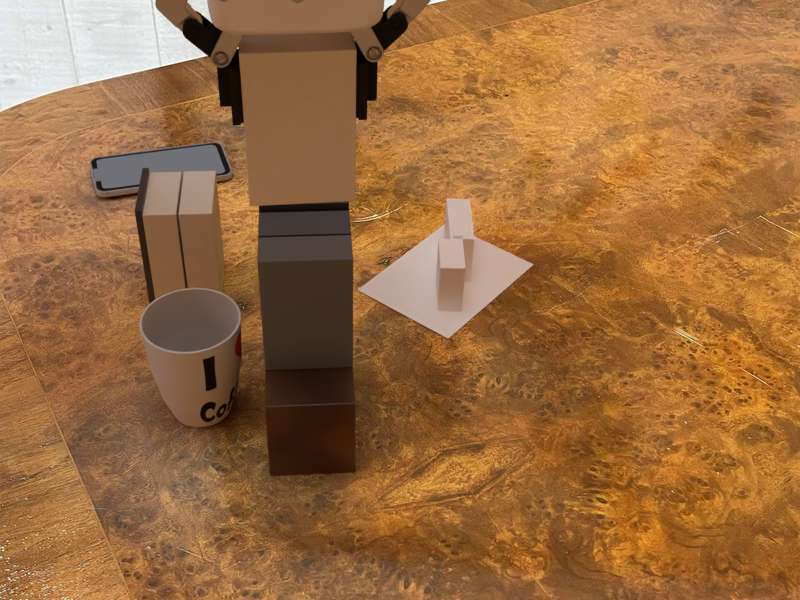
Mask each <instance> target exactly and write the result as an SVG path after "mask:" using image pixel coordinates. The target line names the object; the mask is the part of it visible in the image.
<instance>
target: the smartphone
mask: <svg viewBox="0 0 800 600" xmlns="http://www.w3.org/2000/svg"><path fill="white" fill-rule="evenodd" d="M89 168H90V172H91V178H92V183H93V186H94V191H95V194H96V195H97V196H98V197H100V198H109V197H117V196H122V195H130V194H138V189H139V184H140V179H141V173H142V168H149V173H150V172H182V179H183V175H184V172H186V171H216V178H217V183H218V182H225V181H228V180H231V178H233V168H232V166H231V163H230V161H229V158H228V156H227V153H226V151H225V148H224V146H223V144H222V143H221V142H217V141H209V142H202V143H201V142H200V143H193V144H187V145H178V146H171V147H162V148H155V149H148V150H139V151H133V152H123V153H115V154H110V155H101V156H95V157H93V158H91V159H90V161H89Z"/></svg>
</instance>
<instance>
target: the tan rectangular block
mask: <svg viewBox="0 0 800 600" xmlns="http://www.w3.org/2000/svg"><path fill="white" fill-rule="evenodd" d="M237 49H239V65H240V74H241V89H242V103H243V117H244V123H243V133H244V135H243V136H244V147H245V162H246V177H247V178H246V179H247V191H248V205H249V207H259V206H264V205H284V204H303V203H323V202H343V201H349V202H355V201H356V189H357V188H356V185H357V183H356V182H357V180H356V179H357V178H356V176H357V175H356V173H357V172H356V170H357V118H356V56H357V50H356V46H355V39H354V37H353V36H352V34H351V32H334V33H306V34H274V35H244V36H243V38H242V40H241V42H240V44H239V46H238V48H237Z"/></svg>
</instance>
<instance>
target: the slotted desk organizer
mask: <svg viewBox="0 0 800 600" xmlns="http://www.w3.org/2000/svg"><path fill="white" fill-rule="evenodd" d="M135 200H136V201H135V206H134V216H135V223H136V229H137V235H138V241H139V248H140V254H141V260H142V266H143V272H144V278H145V279H144V280H145V285H146V291H147V292H146V293H147V297H148V305H149V304H150V303H151V302H153V301H154V300H155V299H157V298H159V297H160V296H162V295H164V294H167V293H169V292H172V291H176V290H180V289H186V288H207V289H212V290H216V291H219V292H221V293H224V278H225V277H224V276H225V265H226V264H225V263H226V262H225V252H224V251H225V250H224V241H223V229H222V222H221V221H222V219H221V210H220V209H221V208H220V201H219V200H220V199H219V190H218V182H217V178H216V171H186V172H184V175H183V179H182V172H150V173H149V168H142V173H141V179H140V184H139V189H138V193H137V195H136V199H135Z"/></svg>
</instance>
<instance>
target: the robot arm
mask: <svg viewBox="0 0 800 600" xmlns="http://www.w3.org/2000/svg"><path fill="white" fill-rule="evenodd" d="M188 1H189V0H155V2H154V3H155V4H154V5H155V8H156V10H157V11H158V12H159V13H160V14H162V16H163V17H164V18H166V20H168V21H169V22H170V23H171V24H172V25H173V26H174V27H175V28H177V29H178V30H179V31H180V32H181V33H182V35H183V37H184V38H185V39H186V40H187V41H188V42H190V43H191V44H192V45H193V46H194V47H196V48H197V49H199V51H201V52H202V53H203V54H205V55H206V56H207V57H208V58H209V59H210V61H211V64H212V65H213V66H214V67H216V74H217V87H218V96H219V107H220V108H226V107H229V108H231V109H230V110H231V121H232V126H242V124H244V117H243V103H242V89H241V74H240V65H239V48H238V46H239V44H240V42H241V40H242V38H243V36H244V35H274V34H306V33H334V32H351V34H352V36H353V37H354V41H355V46H356V50H357V56H356V119H358V121H367V120H368V102H375V101H378V72H379V71H378V68H379V67H378V64H379V63H378V62H380V61H382V59H383V58H384V55H385V52H386V51H387V49H388V48H389V47H390V46H391V45H393V44H394V43H395V42H396V41H397V40H398V39H399V38H401V36H402V35H403V34H405V32H406V31H407V30H408V28H409V24H410V23H411V22H413V21H414V20H416V18H417V17H418V16H419V15H420V14H421V12H422V11H423V10H425V8H426V7H427V6H428V5H429V4H430V2H431V1H432V0H395V2H394V3H393V4H391V5H389V6H387V8H386V9H385V8H384V7H385V0H206V3H207V9H208V12H209V13H208V14H209V17H210V19H208V18H207V17H206V16H204V15H203V14H202V13H201V12H199V11H198V10H195V9H194V8H193V7H192V5H191V4H190V3H189V2H188Z"/></svg>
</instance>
